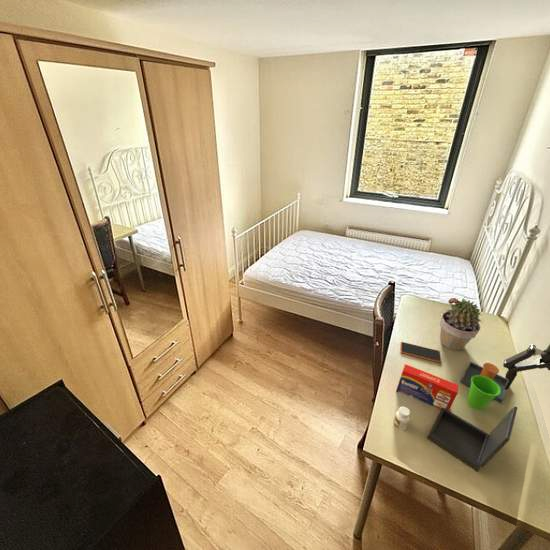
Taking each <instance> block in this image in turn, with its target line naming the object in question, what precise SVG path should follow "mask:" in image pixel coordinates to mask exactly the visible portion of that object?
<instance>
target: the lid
mask: <svg viewBox="0 0 550 550" xmlns="http://www.w3.org/2000/svg"><path fill="white" fill-rule="evenodd" d="M517 411H518V407H517V406H516V405H514V406H513V407H512V408H511V409H510V410H509V411H508V412H507V414H506V415H505V416H504V417H503V418H502V419H501V420H500V421H499V422H498V423H497V425H496V426H495V427H494V428H493V429H492V430H491V431H490V432H489V433H488V434H489V438H488V441H487V444H486V447H485V450H484V453H483V456H482V460H481V463H480V466H481V467H480V468H484V467H485V466H486V464H488V463H489V462H490V460H491V459H493V457H494V456H496V454H497V453H499V452H500V450H501V449H503V448H504V447H505V446H506V444H507V443H508V442H510V440H511V435H512V431H513V428H514V424H515V419H516V415H517Z"/></svg>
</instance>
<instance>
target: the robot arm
mask: <svg viewBox="0 0 550 550" xmlns="http://www.w3.org/2000/svg"><path fill="white" fill-rule="evenodd" d="M536 356H540V357H537V358H536V359H532V360H528V359H530V358H532V357H536ZM502 366H503V368H504V369H505V368H506V369H507V371H506V373H505V377H504V378H506V379H508V380H507V382H506V383H505V388H504V389H506V391H508V390H509V389H510V387H511V385H512V384H513V382H514V381H515V379H516V377H517V375H518V372H519V373H520V372H524V371H530V370H535V369H539V370H541V369H542V370H543V369H547V370H548V371H550V343H549V344H548V346H547V347H546V349H544V350H541V349H540V348H538V347H537V346H536V345H535V344H530V345H529V346H528V348H527V349H524V350H522V351H521V352H519V353H516V354H514V355H512V356H510V357H508V358H505V359H504V360H503V364H502Z"/></svg>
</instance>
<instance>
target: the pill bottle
mask: <svg viewBox="0 0 550 550" xmlns="http://www.w3.org/2000/svg"><path fill="white" fill-rule="evenodd" d="M410 415H411V410H410V409H409V408H407V407H406V406H400V407H399V408H398V410H397V411H396V413H395V414H394V417H393V425H394V426H395V428H397V429H398V430H402V431H404V430H406V429H407V428H408V425H409V422H410V420H411V419H410V418H411V416H410Z"/></svg>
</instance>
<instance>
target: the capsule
mask: <svg viewBox="0 0 550 550" xmlns="http://www.w3.org/2000/svg"><path fill="white" fill-rule="evenodd" d="M482 367H483V369H482V371H481V373H480V375H482V376H486V377H488V378H490V379H492V380H493V379H494V377H495V375H496V374H498V375H499V373H500V369H499V367H497V365H495V364H493V363H491V362H485V363H483V365H482Z"/></svg>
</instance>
